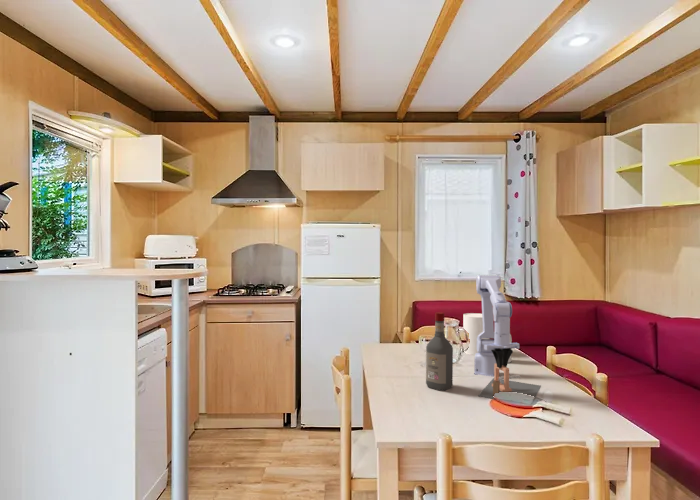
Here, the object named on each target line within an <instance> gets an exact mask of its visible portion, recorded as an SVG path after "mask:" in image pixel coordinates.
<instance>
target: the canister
mask: <svg viewBox="0 0 700 500" xmlns="http://www.w3.org/2000/svg"><path fill="white" fill-rule="evenodd" d="M462 319H463V320H462V321H463V323H462V325H463V326H462V329H463V328H464V329H465V330H466V331H467V332H468V333H469V339H470V344H469V348H468V350H467V351H466V352H465V353H466V354H465V353H464V354H465V355H468V354H469V356H474V357H475V354H476V353H478V351H477V336H478V335H479V334H480V333H482V332H483V320H482V313H476V312H475V313H474V312H470V313H469V312H467V313H463V318H462ZM482 339H491V338H482Z"/></svg>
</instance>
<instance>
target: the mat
mask: <svg viewBox="0 0 700 500" xmlns="http://www.w3.org/2000/svg"><path fill="white" fill-rule="evenodd" d="M493 381H494V377H493V378H492V379H491V380H490V381H489V382H488V383H487V384H486V386H485V387H484V388H483V389H482V390H481V392H480V393H479V394H478V395H477V396H478V397H479V398H484V399H485V398H486V399H491V400H494V399H493V398H494V397H493V386H492V383H493ZM500 383H502V384H504V379H502V380H501V382H500ZM541 387H542V385H539V384H533V383H527V382H522V381H515V380H509V388H511V389H512V391H509V392H517V393H523V394H527V395H531V396H534V397H535V398H536V397H537V395H538V393H539V391H540V389H541ZM500 392H502V391H500Z"/></svg>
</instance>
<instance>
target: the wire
mask: <svg viewBox="0 0 700 500" xmlns="http://www.w3.org/2000/svg"><path fill="white" fill-rule="evenodd" d="M502 379H503V380H504V375H502V376H500V375H499V378H498V380H494V381H493V396H494V394H495V393H499V392H500V382H501V380H502ZM510 379H511V380H512V379H521V375H520V374H516V375H514V374H513V375H509V380H510Z"/></svg>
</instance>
